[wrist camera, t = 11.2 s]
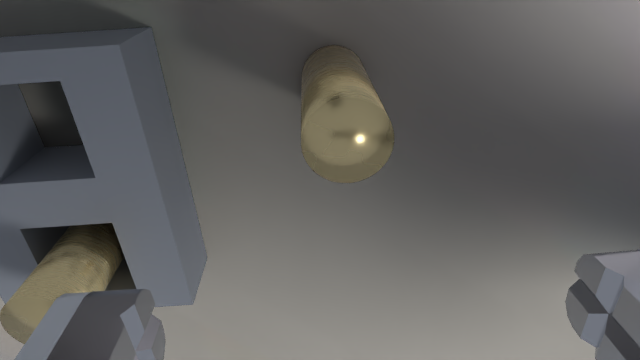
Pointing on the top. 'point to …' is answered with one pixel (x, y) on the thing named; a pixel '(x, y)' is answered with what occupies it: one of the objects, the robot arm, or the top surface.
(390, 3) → the top surface
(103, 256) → the pin
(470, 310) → the top surface
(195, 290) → the block
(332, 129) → the pin
